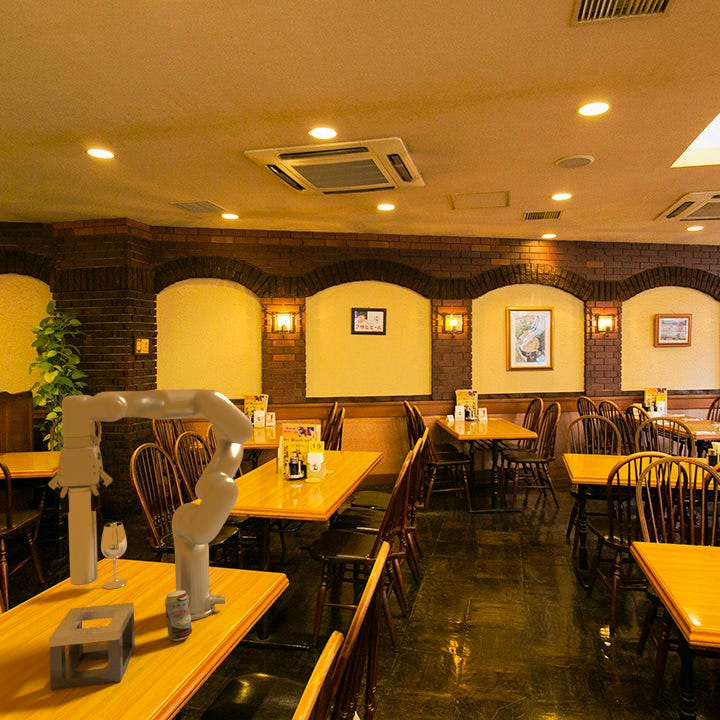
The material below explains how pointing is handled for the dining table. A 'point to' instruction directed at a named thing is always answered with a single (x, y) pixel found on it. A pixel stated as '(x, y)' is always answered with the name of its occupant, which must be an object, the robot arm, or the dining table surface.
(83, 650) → the collar stand
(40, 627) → the dining table surface
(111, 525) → the wineglass
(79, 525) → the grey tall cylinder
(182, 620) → the beverage can
